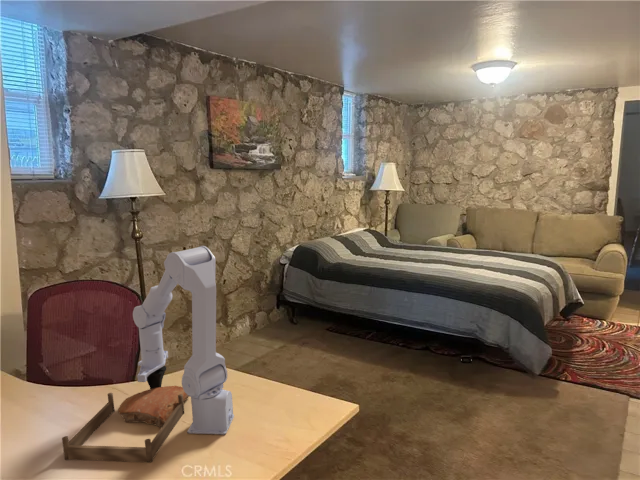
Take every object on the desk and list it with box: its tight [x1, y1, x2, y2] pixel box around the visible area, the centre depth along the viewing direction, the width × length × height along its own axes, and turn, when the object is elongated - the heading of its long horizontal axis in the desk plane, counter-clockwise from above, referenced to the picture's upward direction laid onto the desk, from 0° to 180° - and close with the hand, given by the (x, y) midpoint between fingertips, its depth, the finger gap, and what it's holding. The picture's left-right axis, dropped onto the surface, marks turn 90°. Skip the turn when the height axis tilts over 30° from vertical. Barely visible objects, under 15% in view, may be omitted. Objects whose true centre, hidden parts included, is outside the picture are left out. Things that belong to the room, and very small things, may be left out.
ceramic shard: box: [117, 385, 190, 428], centre depth 120 cm, size 15×6×15 cm
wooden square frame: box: [61, 392, 185, 464], centre depth 110 cm, size 20×20×5 cm
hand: (156, 393), depth 126 cm, fingers closed
